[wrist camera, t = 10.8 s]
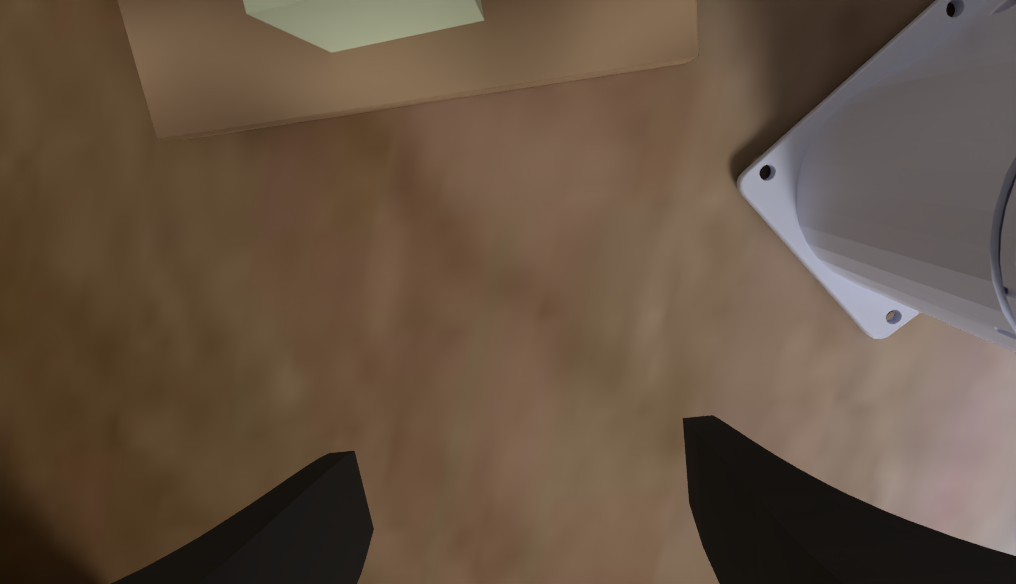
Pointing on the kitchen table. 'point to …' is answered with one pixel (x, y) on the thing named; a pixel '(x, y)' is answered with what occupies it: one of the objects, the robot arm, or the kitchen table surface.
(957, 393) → the kitchen table surface
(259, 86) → the walnut board
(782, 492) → the robot arm
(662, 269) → the kitchen table surface
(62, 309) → the kitchen table surface
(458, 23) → the sage cube
